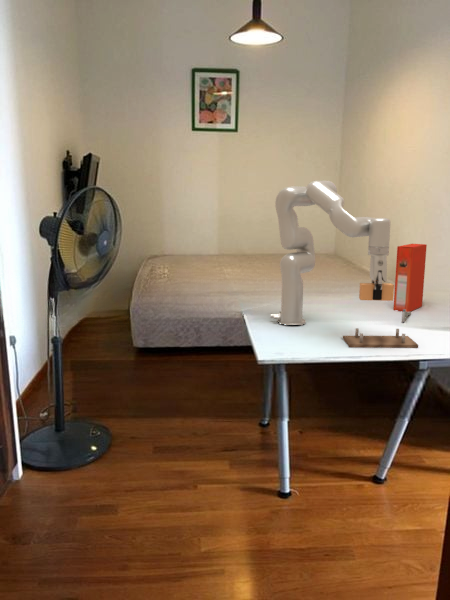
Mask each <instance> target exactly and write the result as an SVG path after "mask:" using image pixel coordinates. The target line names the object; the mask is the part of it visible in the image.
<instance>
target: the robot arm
mask: <svg viewBox="0 0 450 600" xmlns="http://www.w3.org/2000/svg"><path fill="white" fill-rule="evenodd" d="M274 203H275V205H274V207H275V210H276V214H277V221H278V231H279V239H280V240H279V241H280V245H281V247H282V248H283V249H285V250H288V251H291V250H292V251H293V250H296V251H295V252H289V253H286V254H285V255H283V256H282V257H281V259H280V261H279V267H280V269H279V270H280V274H281V277H280V278H281V298H280V299H281V300H280V301H281V304H280V306H281V307H280V311H279V313H270V318H271V319H273V320H276V319H277V321H278V322H279V323H281V324H286V325H301V326H304V325H305V324H306V322H307V321H306V319H304V318H303V304H304V303H303V302H304V281H303V277H302V274H306V273H308V272H311V271H313V269H314V268H315V266H316V252H315V251H316V250H315V243H314V237H313V234H312V232H311V230H310V229H308V228H307V227H304V226H303V227H302V226H299V218H298V215H297V212H296V211H295V209H294V207H308V206H309V207H310V206H313V205H316V206H318V207H319V208H320V209H321V210H322V211H323V212H325V213H326V214H327V215H328V216H329V219H330V221H331V223H332V225H333V226H334V227H335V228H336V229H337V230H338V231H340V232H341V233H342V234H344V235H345V236H347V237H349V238H361V237H363V238H364V237H368V243H367V244H368V247H367V249H368V250H367V255H368V256H370V258H369V259H370V260H369V261H370V263H369V279H371V283H374V289H373V300H372V301H379V300H381V299H382V283H387V279H388V278H387V277H388V275H387V274H388V261H387V260H388V258H387V256H389V254H390V237H391V235H390V234H391V220H390V218H387V217H370V216H355V217H354V215H352V214H350V213H349V212H348V211H346V210H345V209H344V205H345V199H344V197H343V196H341V195H340V194H339V193H338V188H337V186H336V184H335V183H334V182H333V181H331V180H324V179H323V180H312V181H311V182H309V183H308V184H307V185H306V186H301V185H300V186H299V185H298V186H297V185H292V186H286V187H283V188H282V189H280V191H279V192H278V193H277V195H276V198H275V201H274ZM376 283H377V284H376ZM277 321H276V322H277ZM278 322H277V323H278ZM279 323H278V324H279ZM281 324H280V325H281ZM303 324H304V325H303Z"/></svg>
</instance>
